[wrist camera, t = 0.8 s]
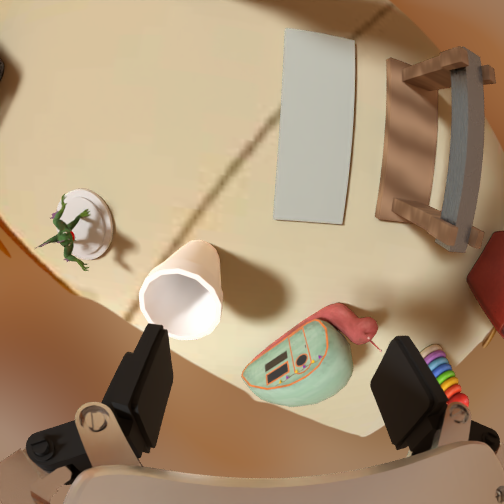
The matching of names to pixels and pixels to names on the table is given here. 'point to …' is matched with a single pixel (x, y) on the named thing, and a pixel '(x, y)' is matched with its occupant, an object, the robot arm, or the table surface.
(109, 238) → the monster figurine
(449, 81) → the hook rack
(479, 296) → the plant pot
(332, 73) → the mat
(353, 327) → the toy snail
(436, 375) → the stacking toy
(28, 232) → the table surface
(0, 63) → the storage bin
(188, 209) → the table surface
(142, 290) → the foam cup
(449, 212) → the rail
